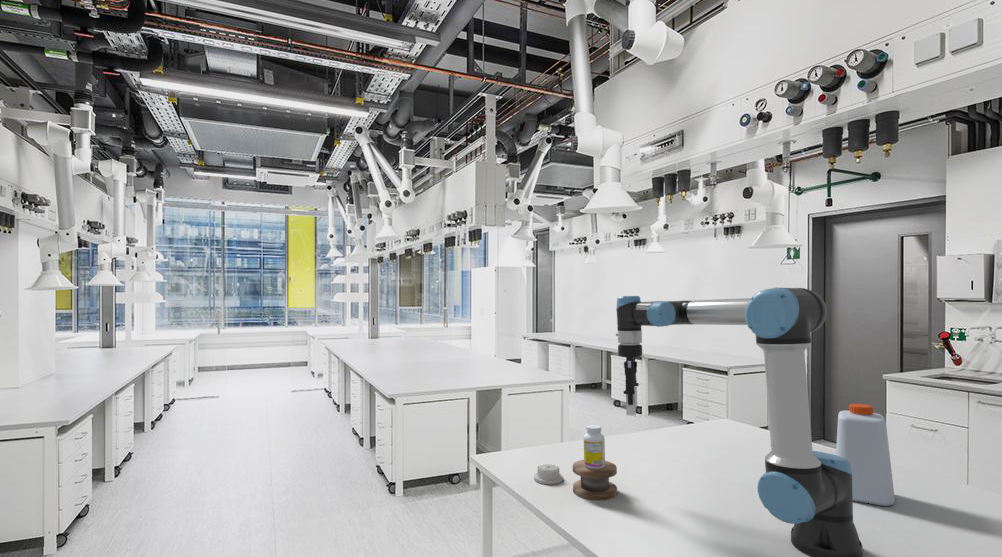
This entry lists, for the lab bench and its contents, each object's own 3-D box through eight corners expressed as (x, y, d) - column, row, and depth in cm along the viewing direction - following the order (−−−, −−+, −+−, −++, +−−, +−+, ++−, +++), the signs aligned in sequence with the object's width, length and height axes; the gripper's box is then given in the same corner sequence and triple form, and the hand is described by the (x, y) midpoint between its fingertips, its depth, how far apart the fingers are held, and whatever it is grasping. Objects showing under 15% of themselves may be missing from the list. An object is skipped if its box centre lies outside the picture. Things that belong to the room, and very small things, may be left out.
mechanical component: (540, 473, 182) (529, 482, 173) (539, 460, 183) (529, 469, 174) (566, 477, 178) (557, 487, 169) (566, 464, 178) (557, 473, 169)
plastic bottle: (892, 493, 161) (889, 403, 162) (896, 510, 149) (892, 413, 149) (835, 483, 170) (832, 398, 170) (834, 498, 157) (831, 407, 158)
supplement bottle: (590, 461, 169) (590, 422, 170) (608, 465, 165) (608, 425, 165) (580, 467, 164) (579, 426, 165) (598, 471, 160) (597, 430, 160)
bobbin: (624, 497, 159) (624, 471, 159) (581, 501, 156) (581, 475, 157) (606, 481, 173) (606, 457, 173) (567, 485, 170) (566, 460, 170)
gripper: (620, 340, 177) (622, 402, 176) (614, 347, 153) (617, 418, 152) (642, 340, 175) (645, 403, 174) (640, 347, 151) (643, 419, 150)
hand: (632, 410), depth 163 cm, fingers open, 13 cm apart
